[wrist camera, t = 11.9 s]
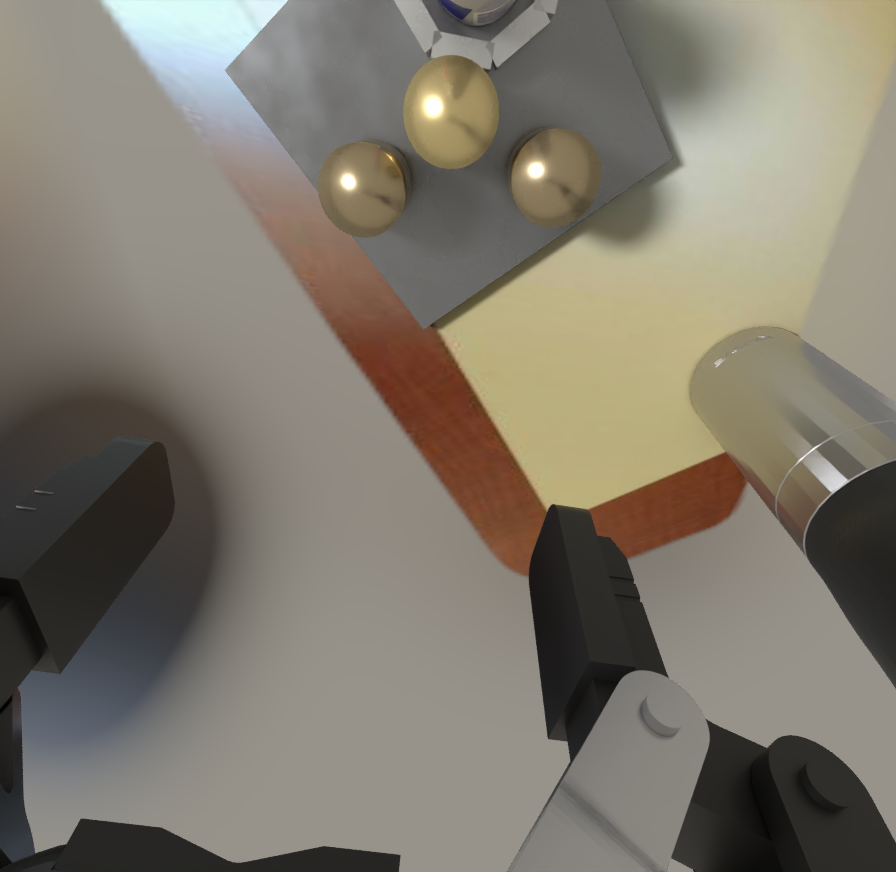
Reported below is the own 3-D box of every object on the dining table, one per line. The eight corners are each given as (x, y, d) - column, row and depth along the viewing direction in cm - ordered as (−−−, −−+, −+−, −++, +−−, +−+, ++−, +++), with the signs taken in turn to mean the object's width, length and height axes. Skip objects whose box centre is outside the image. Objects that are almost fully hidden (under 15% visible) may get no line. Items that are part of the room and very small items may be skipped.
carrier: (666, 156, 33) (710, 165, 27) (424, 323, 40) (416, 361, 34) (503, -223, 24) (514, -335, 18) (232, 71, 31) (175, 61, 25)
